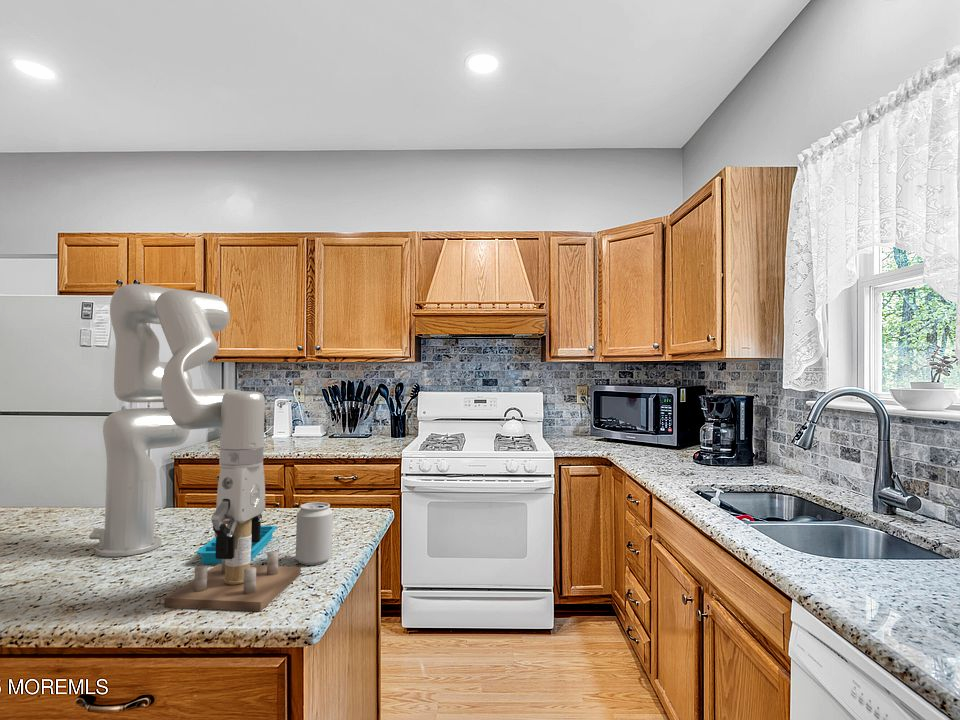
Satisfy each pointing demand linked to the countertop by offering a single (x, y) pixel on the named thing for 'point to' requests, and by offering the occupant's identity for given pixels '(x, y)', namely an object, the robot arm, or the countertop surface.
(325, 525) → the can
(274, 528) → the ice cube tray
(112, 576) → the countertop surface
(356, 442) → the countertop surface
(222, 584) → the peg board
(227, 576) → the sprinkles bottle
